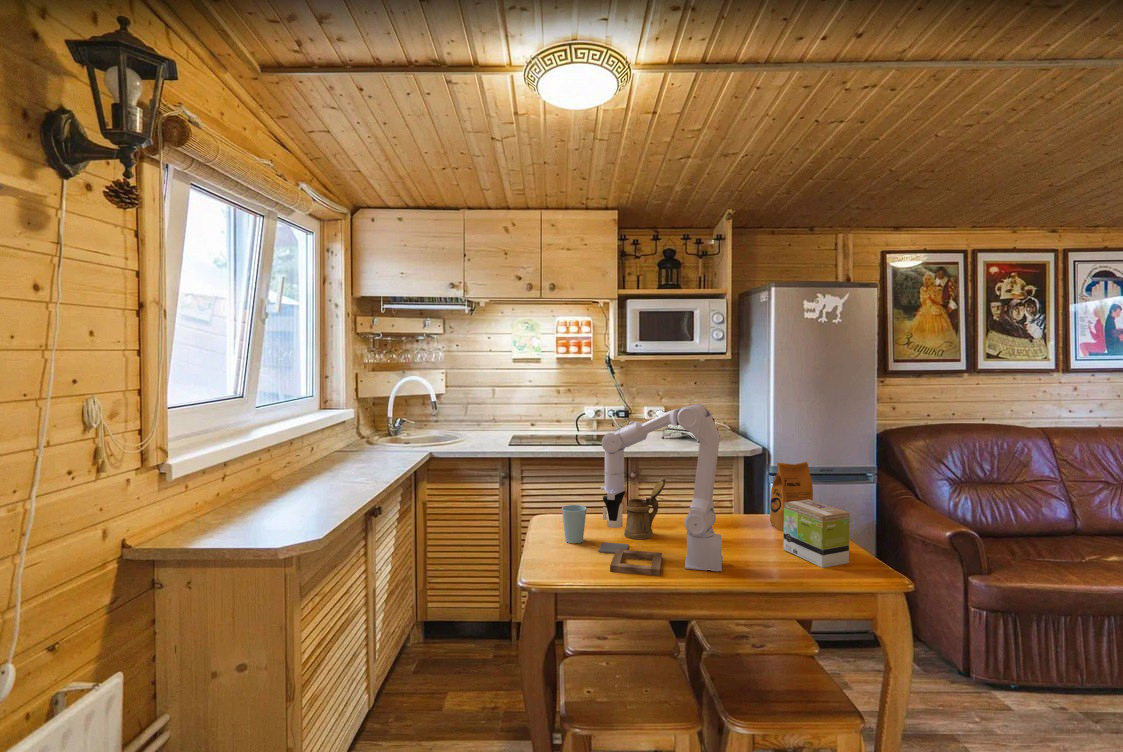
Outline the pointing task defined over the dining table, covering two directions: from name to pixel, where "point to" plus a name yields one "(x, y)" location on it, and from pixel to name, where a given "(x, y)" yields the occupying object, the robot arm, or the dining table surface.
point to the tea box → (816, 532)
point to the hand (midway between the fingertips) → (614, 518)
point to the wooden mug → (642, 514)
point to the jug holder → (636, 569)
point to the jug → (614, 523)
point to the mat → (612, 547)
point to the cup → (574, 523)
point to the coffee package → (789, 489)
